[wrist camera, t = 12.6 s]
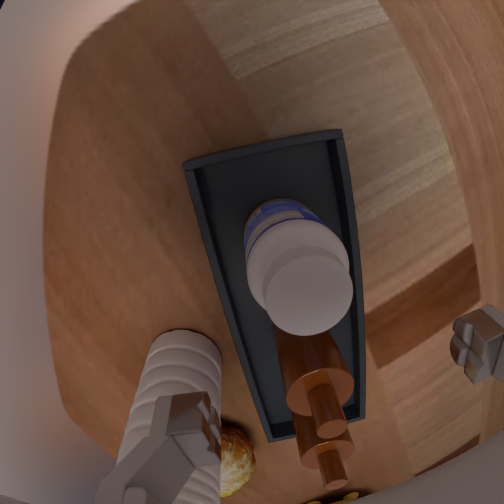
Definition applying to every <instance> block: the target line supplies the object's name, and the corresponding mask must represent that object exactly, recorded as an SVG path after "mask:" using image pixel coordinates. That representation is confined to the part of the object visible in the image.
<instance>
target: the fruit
mask: <svg viewBox="0 0 504 504" xmlns="http://www.w3.org/2000/svg"><path fill="white" fill-rule="evenodd" d="M220 437H221V477H220V497H225V496H228V495H232V494H233V493H234V492H235V491H236V490H238V489H240V488H241V487H242V484H244V483H246V482H247V481H249V479H250V478H251V476H252V474H253V473H254V471H255V468H256V460H255V457H254V454H253V445H252V442H251V440H250V439H248V436H246V435H245V433H243V432H242V431H241V430H239V429H238V428H237V427H233V426H229V427H228V426H225V425H224V424H223V422H221V436H220Z"/></svg>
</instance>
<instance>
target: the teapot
mask: <svg viewBox="0 0 504 504" xmlns="http://www.w3.org/2000/svg"><path fill="white" fill-rule="evenodd" d="M358 494H359V493H358V492H354V493H350V494H347V495H346V496H344V497H343V501H338V502H334V503H330V504H342V503H345V502H349V501H352V500H355V499H357V497H358ZM307 504H321V502H320V501H313V502H309V503H307Z"/></svg>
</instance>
